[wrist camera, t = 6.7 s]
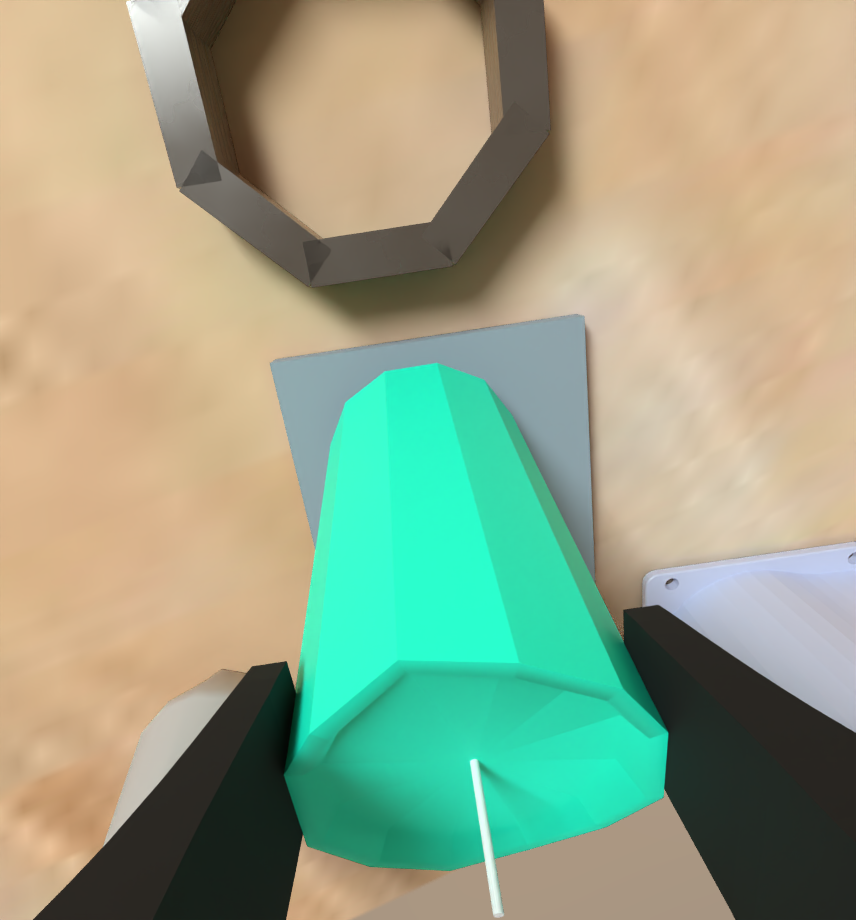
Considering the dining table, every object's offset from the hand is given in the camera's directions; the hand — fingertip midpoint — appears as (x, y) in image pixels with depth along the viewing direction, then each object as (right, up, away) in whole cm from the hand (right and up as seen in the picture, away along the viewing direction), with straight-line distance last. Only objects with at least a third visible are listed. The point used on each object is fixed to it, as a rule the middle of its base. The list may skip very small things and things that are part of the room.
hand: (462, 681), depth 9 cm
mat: (0, +3, +10) cm, 10 cm away
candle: (-1, +4, +8) cm, 9 cm away
